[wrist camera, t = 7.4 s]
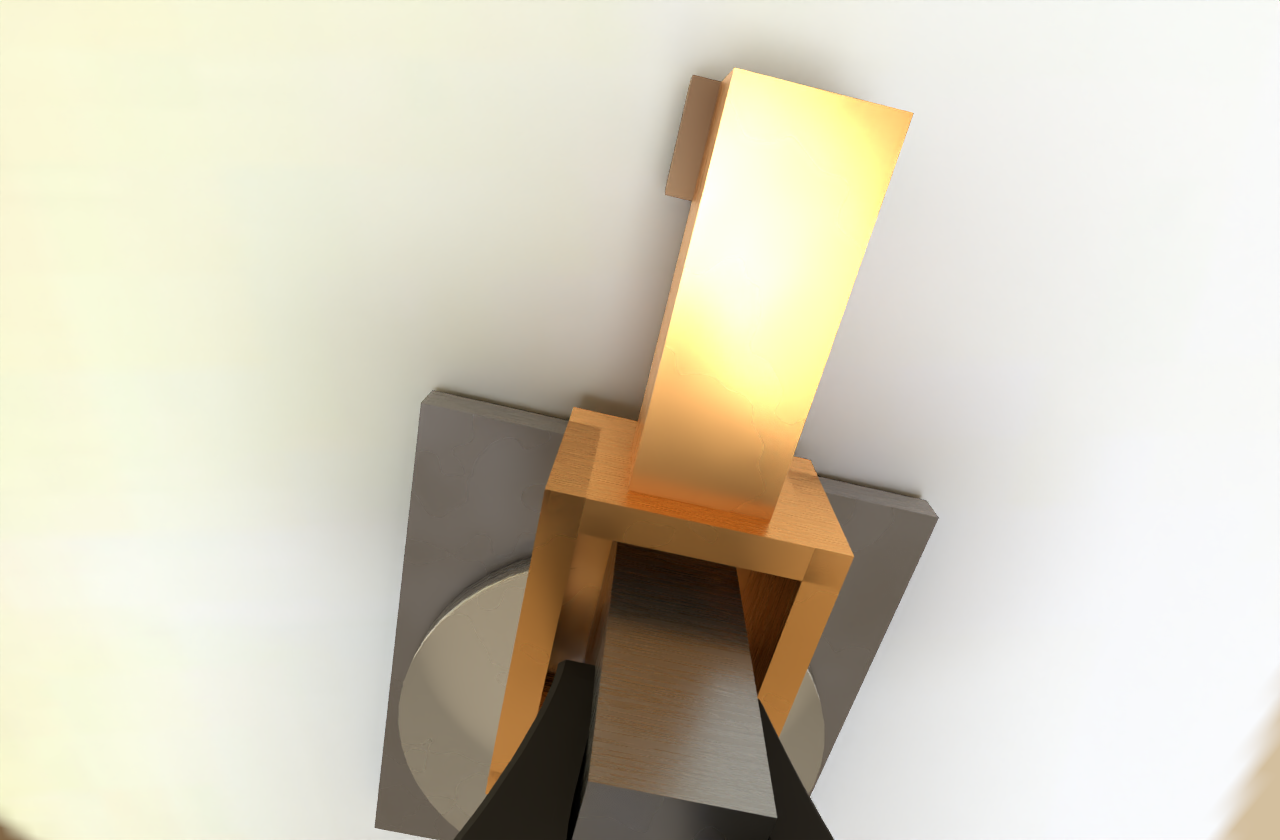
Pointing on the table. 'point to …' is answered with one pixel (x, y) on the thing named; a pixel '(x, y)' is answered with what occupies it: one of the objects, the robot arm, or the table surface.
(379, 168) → the table surface
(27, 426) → the table surface
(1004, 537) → the table surface
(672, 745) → the brushed metal block
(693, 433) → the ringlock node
